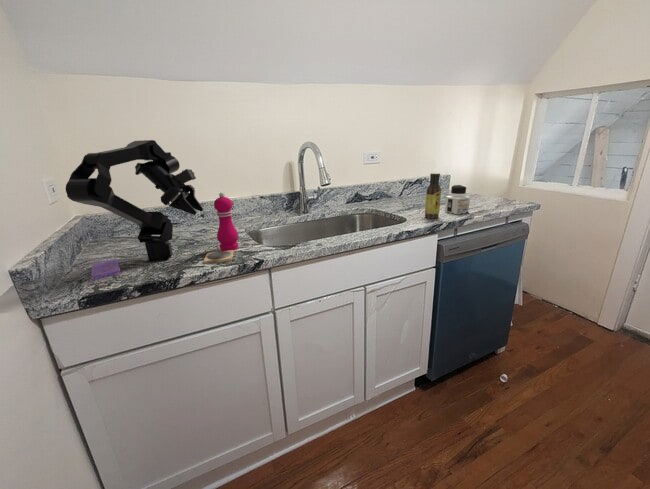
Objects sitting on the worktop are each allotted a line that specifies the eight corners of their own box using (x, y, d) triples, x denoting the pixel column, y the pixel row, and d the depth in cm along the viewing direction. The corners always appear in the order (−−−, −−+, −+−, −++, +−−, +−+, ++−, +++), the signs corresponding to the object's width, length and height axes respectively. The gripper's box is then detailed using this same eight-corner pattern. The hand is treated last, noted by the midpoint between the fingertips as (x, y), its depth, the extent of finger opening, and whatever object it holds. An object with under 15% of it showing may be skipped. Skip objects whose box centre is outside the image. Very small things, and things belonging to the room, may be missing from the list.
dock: (203, 263, 97) (203, 261, 97) (207, 254, 105) (207, 252, 104) (231, 260, 98) (231, 258, 98) (233, 252, 106) (233, 249, 106)
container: (456, 214, 145) (459, 187, 141) (444, 211, 152) (446, 185, 148) (468, 212, 148) (471, 185, 144) (456, 209, 155) (458, 183, 151)
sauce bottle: (436, 219, 138) (440, 174, 132) (422, 218, 142) (425, 173, 135) (440, 216, 144) (444, 172, 137) (426, 215, 147) (429, 172, 141)
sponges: (93, 281, 88) (91, 275, 88) (92, 268, 98) (90, 263, 97) (121, 274, 92) (120, 269, 92) (118, 263, 102) (116, 258, 101)
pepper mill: (232, 244, 115) (224, 190, 109) (244, 247, 111) (236, 191, 104) (214, 249, 110) (205, 193, 103) (226, 253, 105) (218, 194, 99)
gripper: (168, 159, 90) (209, 197, 95) (186, 161, 108) (220, 193, 112) (142, 186, 91) (184, 222, 95) (164, 184, 109) (199, 214, 113)
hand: (199, 212), depth 104 cm, fingers open, 9 cm apart
